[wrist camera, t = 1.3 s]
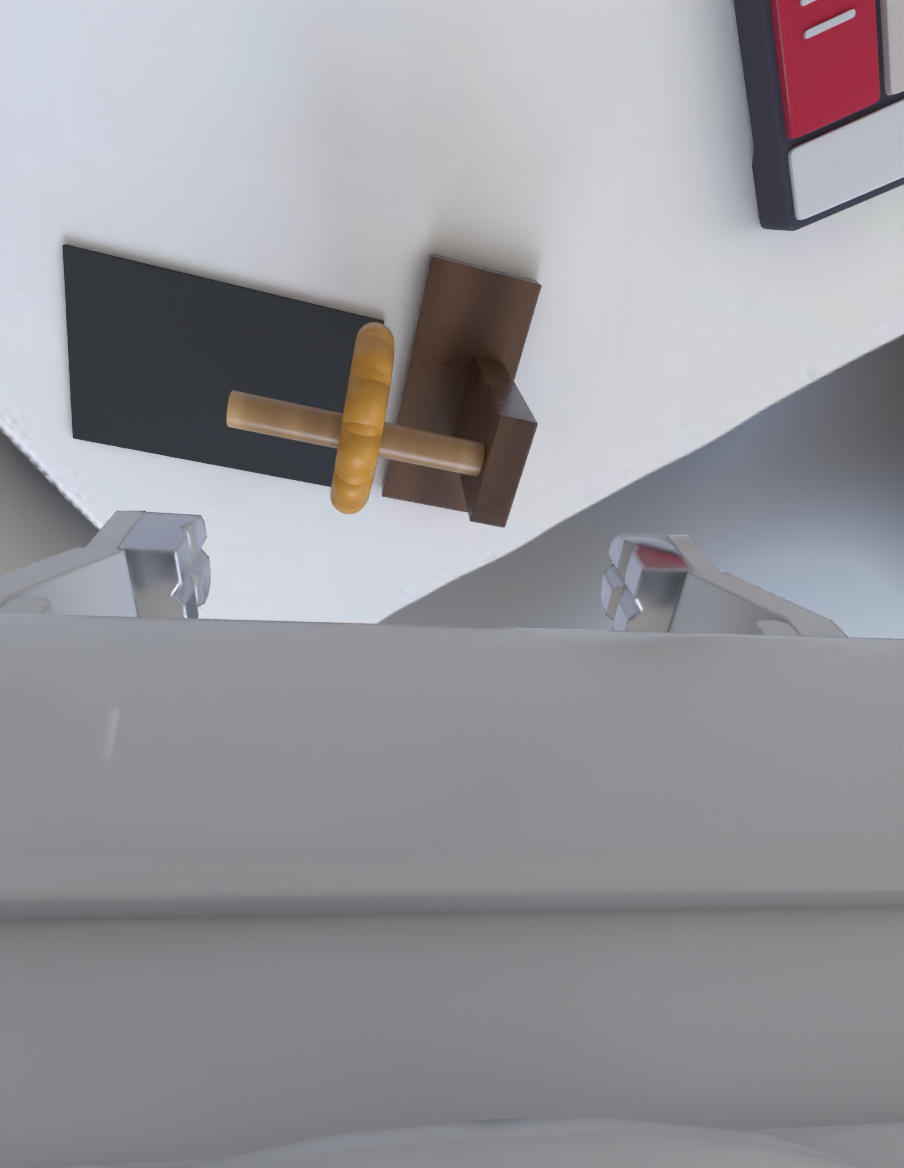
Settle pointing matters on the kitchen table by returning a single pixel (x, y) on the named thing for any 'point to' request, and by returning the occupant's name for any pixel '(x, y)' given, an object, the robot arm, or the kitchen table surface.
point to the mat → (198, 363)
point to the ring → (363, 418)
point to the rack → (442, 397)
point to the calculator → (822, 104)
